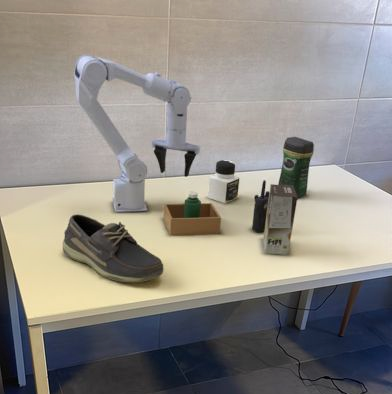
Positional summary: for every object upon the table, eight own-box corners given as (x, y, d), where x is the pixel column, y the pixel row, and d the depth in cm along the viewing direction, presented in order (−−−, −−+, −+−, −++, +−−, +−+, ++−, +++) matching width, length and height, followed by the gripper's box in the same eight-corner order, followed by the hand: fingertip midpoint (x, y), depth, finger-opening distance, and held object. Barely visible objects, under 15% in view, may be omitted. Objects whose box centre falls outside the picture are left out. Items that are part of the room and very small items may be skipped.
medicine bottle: (225, 203, 172) (228, 166, 166) (207, 198, 175) (210, 161, 169) (237, 198, 177) (241, 162, 171) (219, 192, 180) (223, 157, 174)
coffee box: (288, 255, 143) (298, 197, 134) (264, 253, 143) (272, 195, 134) (285, 240, 151) (294, 185, 142) (262, 239, 150) (269, 183, 142)
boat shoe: (144, 294, 121) (145, 251, 115) (48, 257, 133) (45, 216, 128) (171, 276, 129) (173, 234, 123) (79, 242, 141) (77, 203, 136)
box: (170, 235, 149) (170, 219, 147) (163, 219, 158) (163, 203, 156) (219, 233, 152) (221, 217, 150) (210, 217, 161) (211, 203, 159)
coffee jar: (309, 196, 183) (319, 140, 174) (294, 200, 179) (303, 143, 169) (288, 187, 189) (297, 133, 180) (273, 191, 185) (280, 136, 175)
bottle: (185, 228, 152) (186, 196, 148) (181, 221, 156) (183, 190, 151) (201, 227, 153) (203, 195, 149) (197, 221, 157) (199, 190, 152)
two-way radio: (258, 234, 153) (265, 182, 146) (245, 229, 156) (251, 178, 148) (269, 229, 157) (276, 178, 149) (257, 224, 159) (263, 174, 152)
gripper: (204, 128, 159) (201, 173, 166) (157, 122, 162) (156, 166, 169) (197, 133, 153) (194, 180, 160) (149, 127, 156) (148, 173, 163)
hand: (174, 173), depth 164 cm, fingers open, 7 cm apart
